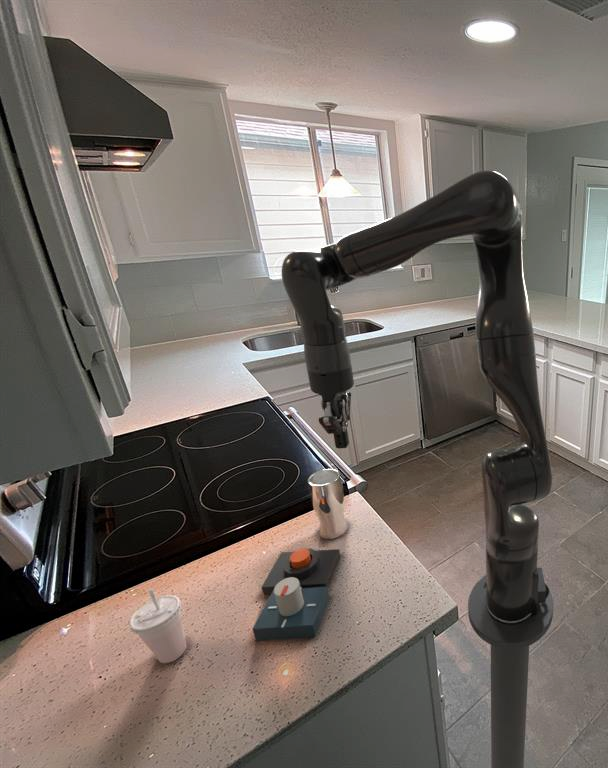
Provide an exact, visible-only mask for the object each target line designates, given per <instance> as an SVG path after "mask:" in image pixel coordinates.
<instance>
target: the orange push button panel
mask: <svg viewBox="0 0 608 768" xmlns="http://www.w3.org/2000/svg"><path fill="white" fill-rule="evenodd" d="M306 549H307V550H309V552H310V557H311V561H310V563H309V564H308V565H306V566H305V567H302V568H300V569H295V568H293V567H292V566H291V562H290V556H291V555H292V553H294V552H295V551H282V552H281V553H280V554H279V556H278V558H277V559H276V561H275V562H274V564H273V567H272V568H271V570H270V571H269V573H268V575H267V577H266V578H265V580H264V582H263V584H262V586H261V590H262V594H263V596H270V595H271V593H272V591H273V590H274V588H275V586H276V585H277V584H278V583H279V582H280V581H282V580H283V579H286V578H289V577H294V578H297V579H298V580H299V583H300V587H302V588H315V587H328V589H329V588H330V586H331V583H332V580H333V577H334V575H335V572H336V570H337V567H338V564H339V563H340V559H341V557H342V556H341V552H340V548H338V549H336V548H335V549H317V550H315V549H313V548H311V547H310V548H306Z"/></svg>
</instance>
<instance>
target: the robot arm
mask: <svg viewBox="0 0 608 768" xmlns="http://www.w3.org/2000/svg"><path fill="white" fill-rule="evenodd" d="M463 236H471V237H472V241H473V246H474V250H475V255H476V261H477V266H478V276H479V289H478V296H477V304H476V310H475V311H476V312H475V323H474V324H475V340H476V341H475V342H476V351H477V359H478V367H479V372H480V373H481V375H482V377H483V378H484V380H485V381H486V383H487V384H488V385H489V387H490V388H491V389H492V391H493V392H494V394H496V395H497V397H498V399H500V400H501V401H502V403H503V404H504V406H505V407H506V408H507V409H508V411H509V412H510V414H511V415H512V418H513V419H514V421H515V424H516V427H517V430H518V434H519V439H520V445H517V446H513V447H507V448H502V449H497V450H493V451H489V452H487V453H486V454H485V455H484V456H483V459H482V463H481V482H482V492H483V493H482V494H483V512H484V521H485V522H484V523H485V575H486V582H485V584H484V589H485V586H486V607H487V610H488V612H489V614H490V615H491V616H492V617H493V618H494V619H495V620H496V621H498V622H500V623H503V624H508V625H514V624H519V623H522V622H524V621H526V620H527V619H528V618H529V617H530V616H532V615H537V603H538V602H546V598H547V597H548V595H549V590H550V588H549V586H548V585H547V583H546V582H545V578H544V577H545V576H544V572H543V568H542V567H538V553H539V552H538V551H539V535H540V534H539V533H540V520H539V517H538V515H537V513H536V511H534V510H533V509H532V508H531V507H529V506H528V505H526V504H528V503H532V502H536V501H540V500H542V499H544V498H547V497H548V496H549V494H550V493H551V491H552V487H553V486H552V485H553V473H552V472H553V471H552V465H551V464H552V463H551V458H550V452H549V447H548V441H547V436H546V431H545V426H544V421H543V415H542V409H541V408H542V407H541V401H540V400H541V399H540V390H539V381H538V370H537V354H536V346H535V344H536V343H535V336H534V327H533V321H532V314H531V307H530V301H529V295H528V291H527V286H526V282H525V277H524V266H523V210H522V204H521V202H520V199H519V197H518V195H517V193H516V191H515V189H514V187H513V185H512V184H511V182H510V181H509V180H508V179H507V178H506V177H505V176H504V175H503V174H501V173H499V172H498V171H495V170H488V169H486V170H479V171H476V172H474V173H471V174H470V175H467V176H466V177H463V178H462V179H460V180H459V181H456V182H455V183H453V184H452V185H450V186H449V187H447V188H446V189H443V190H442V191H440V192H439V193H437V194H435V195H434V196H432V197H430V198H428V199H426V200H424V201H422V202H420V203H418V204H417V205H415V206H413V207H411V208H410V209H407V210H406V211H404V212H401V213H399V214H397V215H395V216H392V217H391V218H388V219H385V220H383V221H380V222H377V223H374V224H372V225H370V226H367V227H364V228H361V229H359V230H356V231H354V232H350V233H348V234H345V235H343V236H342V237H340V238H339V239H338V240H337V242H336V241H335V242H334V243H331V244H327V245H325V246H320V247H317V248H310V249H304V250H303V249H302V250H295V251H292V252H290V253H288V254H287V255H286V256H285V257H284V259H283V262H282V265H281V280H282V284H283V287H284V289H285V292H286V294H287V296H288V299H289V301H290V303H291V305H292V308H293V310H294V311H295V313H296V316H297V317H298V320H299V325H300V331H301V335H302V341H303V353H304V354H303V355H304V361H305V366H306V373H307V377H308V383H309V388H310V391H311V392H312V393H313V394H317V395H319V396H320V397H321V401H320V405H321V409H322V411H323V413H324V414H323V416H319V417H318V423H319V424H320V426H321V427H322V428H323V429H324V431H325V432H326V434H328V435H333V440H334V445H335V448H336V449H347V448H348V446H349V444H350V439H349V434H348V427H349V422H348V421H350V419H351V405H352V403H351V402H352V392H351V391H349V390H351V389H353V387H354V386H355V379H354V372H353V366H352V360H351V359H352V358H351V352H350V347H349V344H348V340H347V335H346V334H347V333H346V329H345V321H344V316H343V313H342V311H341V310H340V308H339V307H337V306H335V305H331V302H330V299H329V296H328V293H327V291H331V290H334V289H336V288H339V287H341V286H344V285H346V284H348V283H351V282H353V281H356V280H357V279H362V278H367V277H371V276H374V275H377V274H379V273H382V272H385V271H388V270H391V269H394V268H396V267H398V266H400V265H402V264H404V263H406V262H407V261H409V260H410V259H412V258H413V257H415V256H416V255H418V254H419V253H421V252H422V251H423V250H426V249H427V248H429V247H431V246H432V245H435V244H438V243H440V242H442V241H446V240H449V239H453V238H459V237H463Z"/></svg>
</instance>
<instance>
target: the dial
mask: <svg viewBox="0 0 608 768" xmlns="http://www.w3.org/2000/svg"><path fill="white" fill-rule="evenodd" d="M274 594H275V598H276V601H277V605H278V608H279V612H280V614H281V615H283V616H291V615H294V614H296V613H297V612H299V611H300V610H301V608H302V607H303V605H304V600H303V596H302V591H301V587H300V583H299V580H298V579H297V578H294V577H289V578H286V579H283V580H282V581H280V582H279V583H278V584H277V585H276V586H275V588H274Z"/></svg>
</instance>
